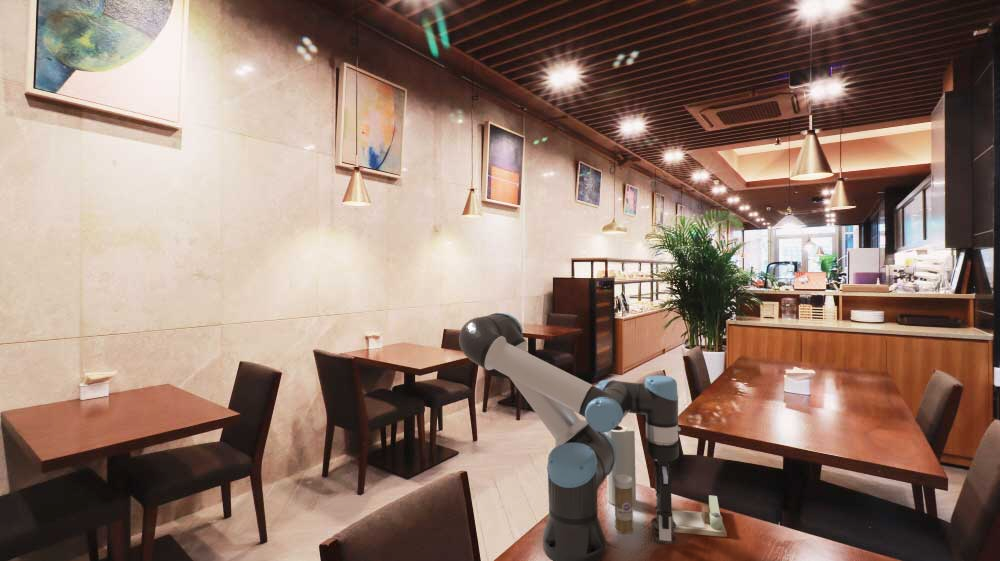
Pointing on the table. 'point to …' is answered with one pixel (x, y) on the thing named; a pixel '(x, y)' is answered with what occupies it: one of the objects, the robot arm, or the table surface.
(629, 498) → the sprinkles bottle
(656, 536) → the grey stone chess piece
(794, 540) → the table surface
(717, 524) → the leg
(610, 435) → the paper towel roll
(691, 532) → the board
